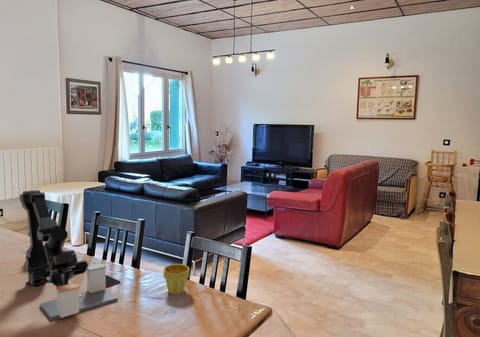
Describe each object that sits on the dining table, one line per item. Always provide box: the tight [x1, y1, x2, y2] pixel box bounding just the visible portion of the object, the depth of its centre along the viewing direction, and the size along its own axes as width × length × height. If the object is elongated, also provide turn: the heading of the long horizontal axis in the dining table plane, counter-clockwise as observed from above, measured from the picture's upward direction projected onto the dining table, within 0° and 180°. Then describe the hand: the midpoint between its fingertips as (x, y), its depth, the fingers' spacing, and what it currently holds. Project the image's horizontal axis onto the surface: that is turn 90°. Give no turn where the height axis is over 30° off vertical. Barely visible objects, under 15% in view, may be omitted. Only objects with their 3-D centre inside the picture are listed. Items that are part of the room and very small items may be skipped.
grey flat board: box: [39, 288, 119, 321], centre depth 142 cm, size 13×24×2 cm, turn 133°
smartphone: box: [105, 274, 121, 289], centre depth 164 cm, size 7×1×15 cm
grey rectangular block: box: [86, 263, 107, 293], centre depth 150 cm, size 4×6×10 cm
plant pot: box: [163, 263, 190, 295], centre depth 155 cm, size 10×10×10 cm
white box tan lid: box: [55, 282, 81, 319], centre depth 131 cm, size 4×6×10 cm
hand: (65, 293), depth 133 cm, fingers closed, pressing on white box tan lid
